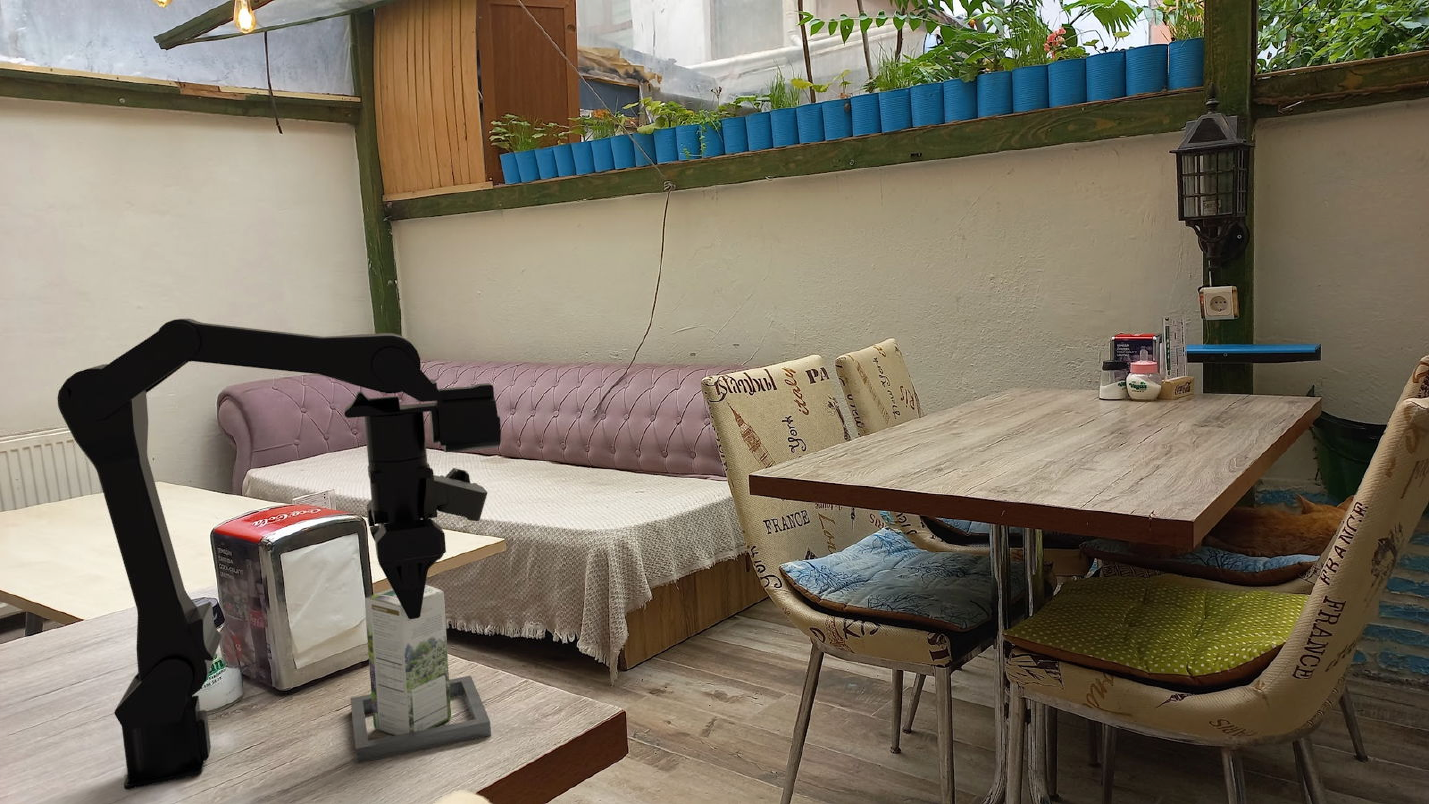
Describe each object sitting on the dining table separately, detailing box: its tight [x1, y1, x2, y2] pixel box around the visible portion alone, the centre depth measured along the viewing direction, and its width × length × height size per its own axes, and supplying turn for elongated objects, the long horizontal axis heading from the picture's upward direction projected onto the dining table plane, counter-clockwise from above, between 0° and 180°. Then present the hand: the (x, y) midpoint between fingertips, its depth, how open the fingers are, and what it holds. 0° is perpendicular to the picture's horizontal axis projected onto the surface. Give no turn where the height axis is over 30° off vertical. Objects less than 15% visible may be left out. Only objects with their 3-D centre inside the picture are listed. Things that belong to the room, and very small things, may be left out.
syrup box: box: [364, 584, 452, 736], centre depth 101 cm, size 6×6×14 cm
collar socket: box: [350, 675, 492, 764], centre depth 102 cm, size 13×13×2 cm
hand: (409, 604), depth 101 cm, fingers open, 9 cm apart
